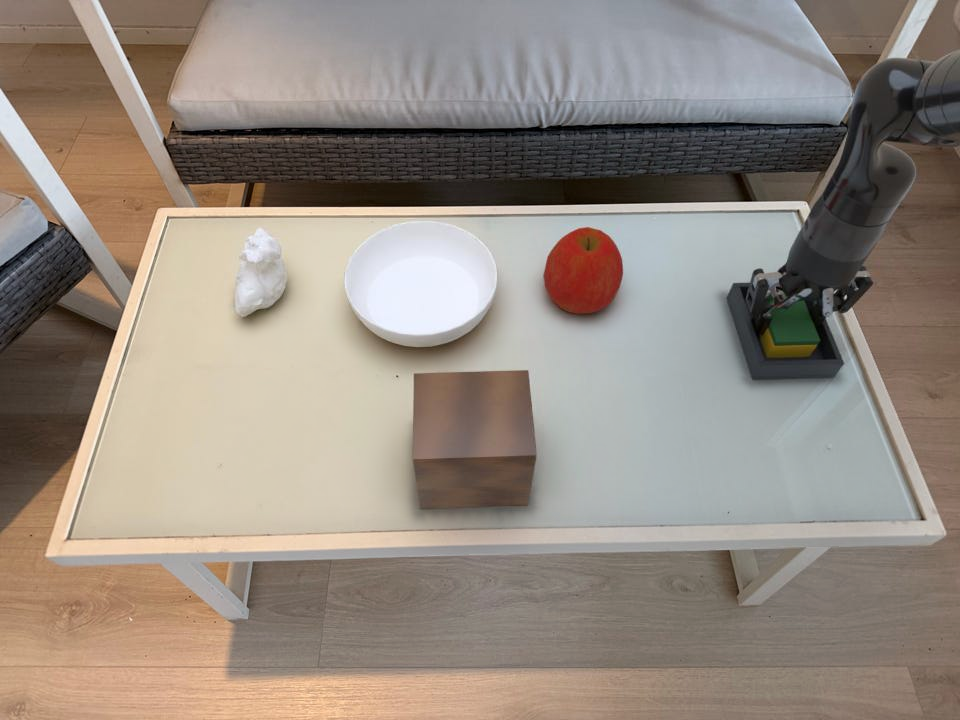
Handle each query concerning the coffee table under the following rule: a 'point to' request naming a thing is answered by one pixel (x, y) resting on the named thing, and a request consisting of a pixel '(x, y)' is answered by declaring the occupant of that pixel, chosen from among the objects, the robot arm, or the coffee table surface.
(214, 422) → the coffee table surface
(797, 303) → the sponge
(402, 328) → the bowl
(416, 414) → the wooden block
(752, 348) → the tray
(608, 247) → the apple
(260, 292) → the bust
